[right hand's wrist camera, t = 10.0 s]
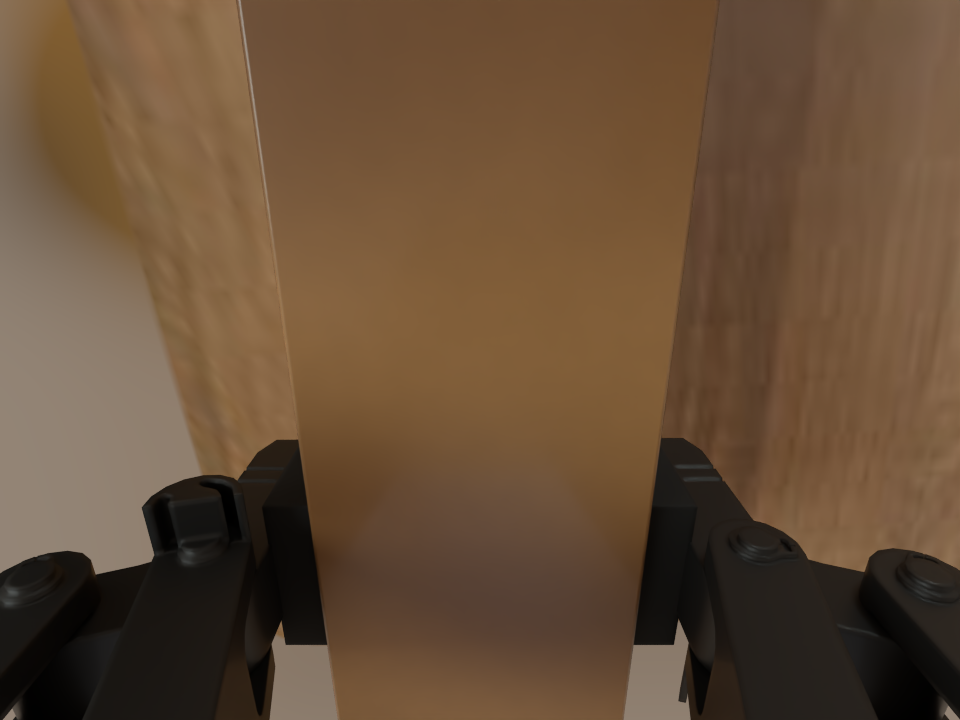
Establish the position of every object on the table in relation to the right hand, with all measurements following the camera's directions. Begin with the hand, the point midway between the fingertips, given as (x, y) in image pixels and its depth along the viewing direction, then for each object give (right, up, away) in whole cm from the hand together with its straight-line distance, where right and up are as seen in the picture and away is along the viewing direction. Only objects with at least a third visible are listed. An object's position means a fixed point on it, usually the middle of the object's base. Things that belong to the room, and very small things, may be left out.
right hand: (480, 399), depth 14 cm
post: (0, +19, -7) cm, 20 cm away
